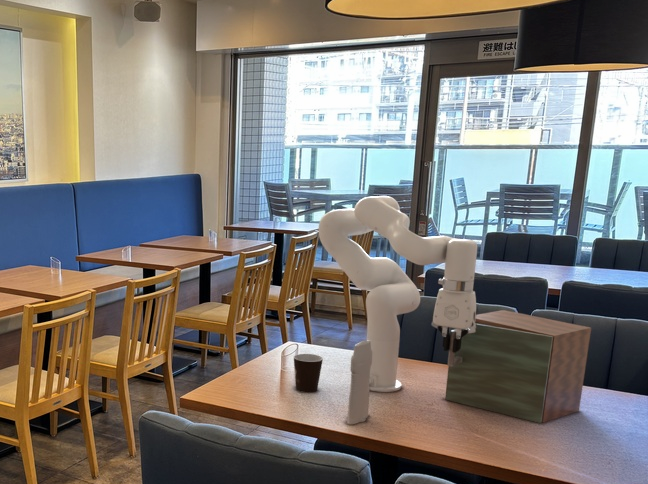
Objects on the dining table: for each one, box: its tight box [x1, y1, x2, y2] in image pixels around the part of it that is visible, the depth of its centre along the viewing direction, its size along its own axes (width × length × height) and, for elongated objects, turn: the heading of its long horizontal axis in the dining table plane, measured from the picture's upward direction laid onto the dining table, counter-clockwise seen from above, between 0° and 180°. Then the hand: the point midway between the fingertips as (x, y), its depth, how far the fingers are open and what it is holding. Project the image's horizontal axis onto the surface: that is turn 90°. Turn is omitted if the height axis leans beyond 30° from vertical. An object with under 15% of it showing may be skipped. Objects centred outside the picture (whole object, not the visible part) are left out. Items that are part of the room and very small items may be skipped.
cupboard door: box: [444, 323, 553, 424], centre depth 196 cm, size 7×26×24 cm, turn 43°
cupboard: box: [475, 309, 592, 423], centre depth 204 cm, size 17×26×24 cm, turn 30°
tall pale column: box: [346, 339, 373, 425], centre depth 192 cm, size 11×4×22 cm, turn 136°
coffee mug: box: [293, 353, 324, 393], centre depth 220 cm, size 12×9×10 cm
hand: (451, 350), depth 199 cm, fingers closed on cupboard door
